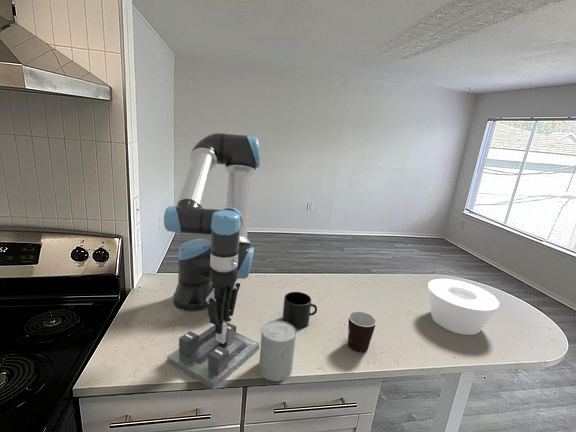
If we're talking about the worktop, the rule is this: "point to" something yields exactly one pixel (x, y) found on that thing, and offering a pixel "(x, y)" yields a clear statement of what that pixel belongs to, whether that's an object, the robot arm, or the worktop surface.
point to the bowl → (460, 305)
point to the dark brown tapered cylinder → (360, 331)
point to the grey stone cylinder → (277, 350)
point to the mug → (297, 309)
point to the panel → (198, 360)
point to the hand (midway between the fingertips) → (220, 340)
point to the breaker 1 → (188, 343)
